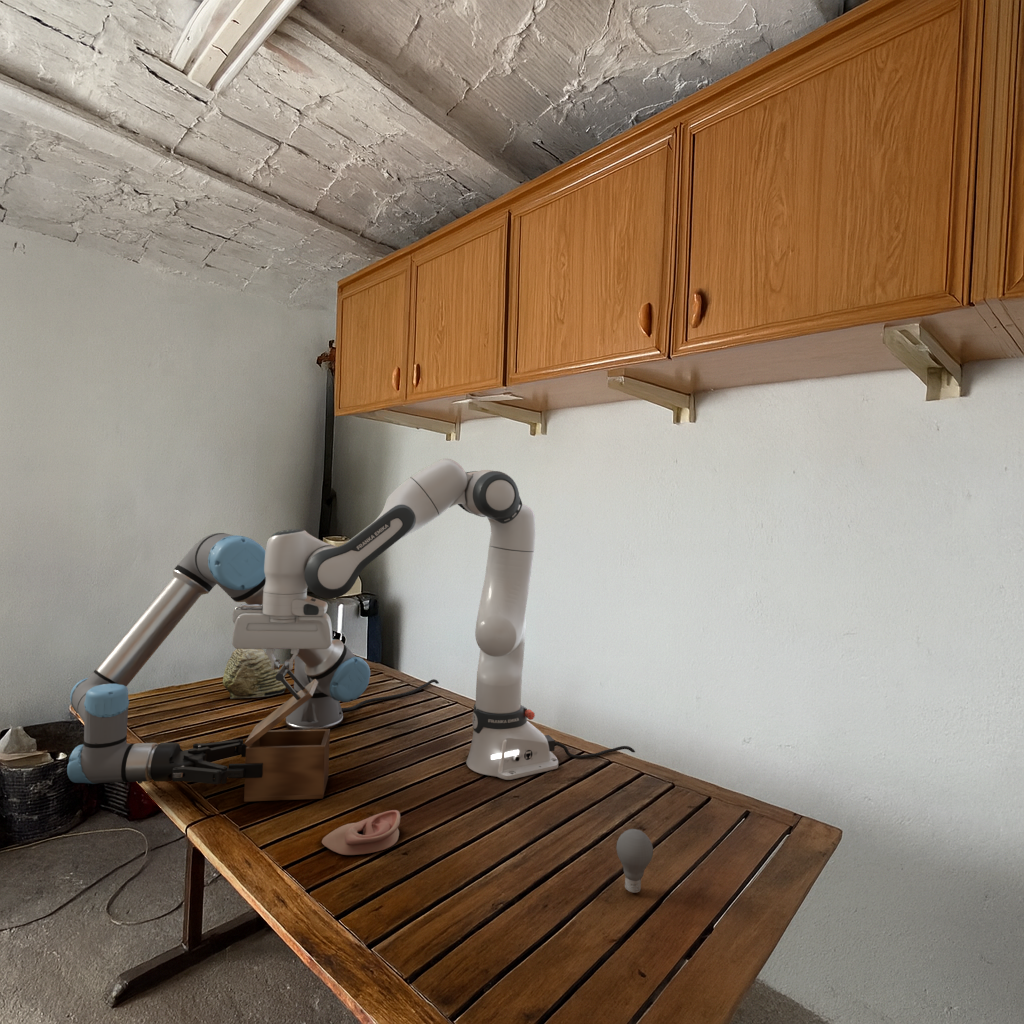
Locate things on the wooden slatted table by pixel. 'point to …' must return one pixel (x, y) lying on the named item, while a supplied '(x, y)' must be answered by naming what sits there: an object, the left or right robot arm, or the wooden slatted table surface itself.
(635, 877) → the light bulb
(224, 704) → the wooden slatted table surface
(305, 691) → the lid
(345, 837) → the anatomical model
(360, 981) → the wooden slatted table surface
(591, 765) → the wooden slatted table surface
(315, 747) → the chest
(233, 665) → the fossil
